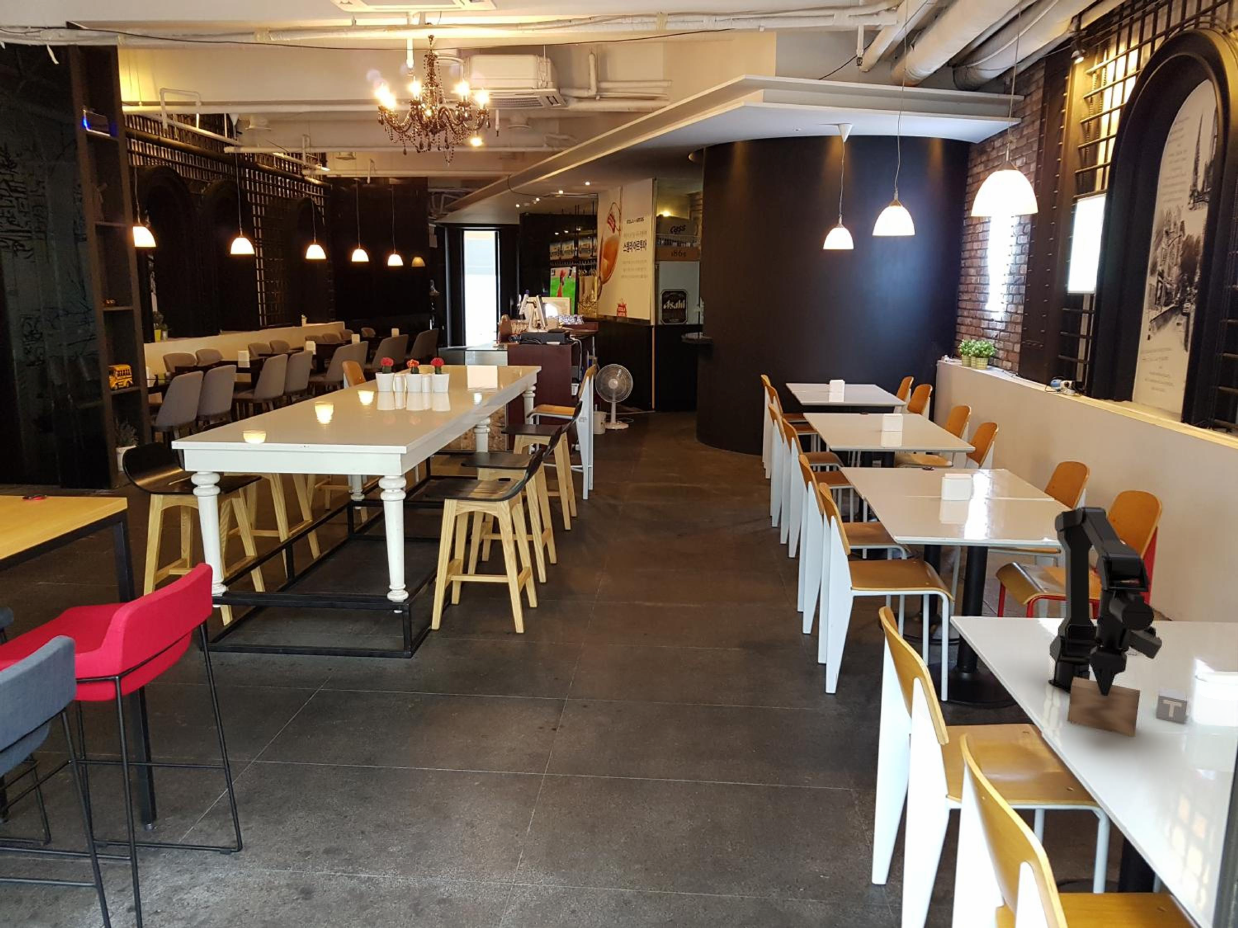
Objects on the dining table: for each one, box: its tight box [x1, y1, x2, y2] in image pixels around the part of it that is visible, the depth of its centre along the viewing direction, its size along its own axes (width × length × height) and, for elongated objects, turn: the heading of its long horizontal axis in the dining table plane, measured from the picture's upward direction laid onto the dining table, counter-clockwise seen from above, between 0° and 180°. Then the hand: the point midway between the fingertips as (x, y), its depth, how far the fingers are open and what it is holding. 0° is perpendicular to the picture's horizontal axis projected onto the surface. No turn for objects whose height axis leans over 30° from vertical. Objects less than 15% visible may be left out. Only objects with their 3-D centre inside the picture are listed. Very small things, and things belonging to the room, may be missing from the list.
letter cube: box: [1155, 686, 1189, 724], centre depth 188 cm, size 5×5×5 cm
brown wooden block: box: [1066, 677, 1141, 737], centre depth 183 cm, size 12×5×8 cm, turn 58°
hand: (1106, 687), depth 182 cm, fingers open, 9 cm apart
